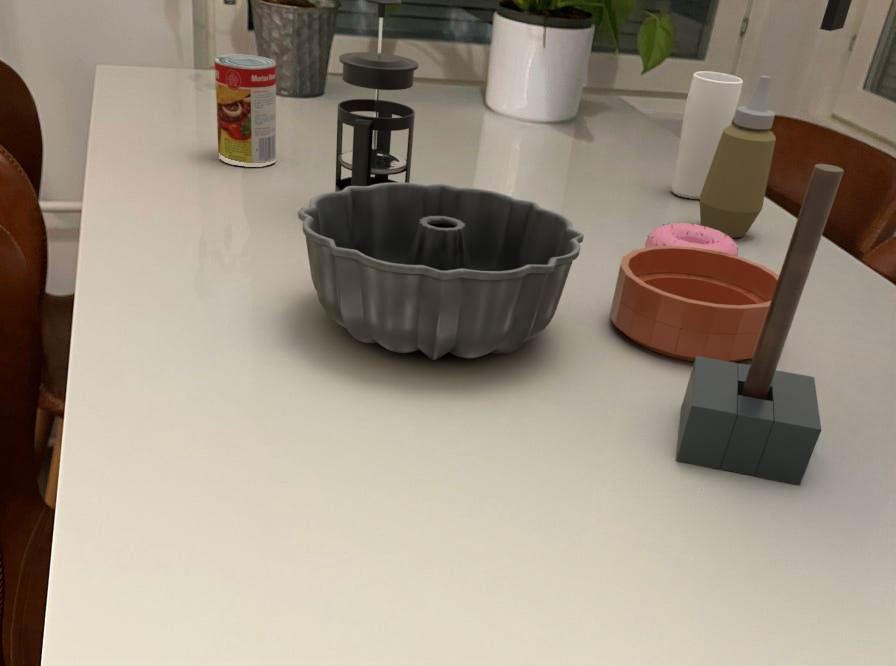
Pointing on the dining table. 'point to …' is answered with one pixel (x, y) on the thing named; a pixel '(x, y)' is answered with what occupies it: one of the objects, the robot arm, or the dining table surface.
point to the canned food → (246, 107)
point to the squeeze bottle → (740, 167)
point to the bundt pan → (437, 266)
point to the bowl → (692, 302)
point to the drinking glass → (703, 128)
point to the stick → (792, 278)
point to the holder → (748, 422)
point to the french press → (378, 75)
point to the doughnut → (691, 238)
